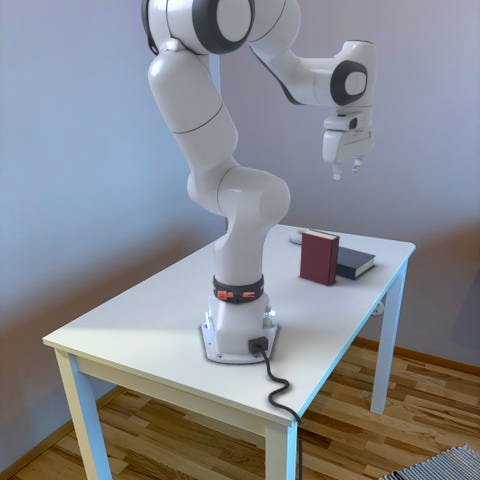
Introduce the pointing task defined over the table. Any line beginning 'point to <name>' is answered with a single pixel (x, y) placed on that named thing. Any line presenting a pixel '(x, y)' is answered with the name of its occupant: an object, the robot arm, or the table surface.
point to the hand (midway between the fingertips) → (347, 176)
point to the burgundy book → (319, 256)
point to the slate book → (353, 262)
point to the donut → (297, 235)
